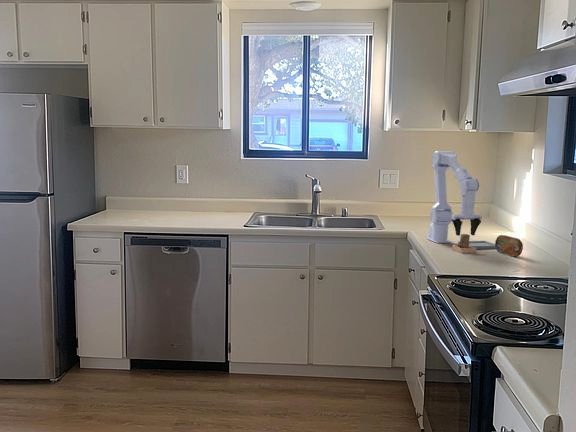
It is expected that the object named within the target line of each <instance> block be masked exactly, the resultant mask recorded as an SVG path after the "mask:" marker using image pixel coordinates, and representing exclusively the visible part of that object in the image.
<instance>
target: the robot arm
mask: <svg viewBox="0 0 576 432" xmlns="http://www.w3.org/2000/svg"><path fill="white" fill-rule="evenodd" d="M457 157H458V155H457V154H456V152H455V151H453V150H452V151H448V150H447V151H445V150H436V151H434V152H433V155H432V157H431V160H432V162H431V164H432V169H433V170H434V171H433V173H434V188H435V189H434V193H435V204H434V205H433V206H432V207H431V208H430V213H429V218H430V221H431V223H430V225H429V227H428V228H429V230H428V237H427V238H426V240H428V241H432V242H434V243H437V244H438V243H439V244H440V243H441V244H442V243H444V244H445V243H451V242H452V241H450V240H448V236H449V235H448V234H449V225H450V224H451V223H452V224H453V226H454V227H453V228H454V231H455V235H456V236H458V237H459V236H461V230H462V225H463V222H464V221H462V220H470V236H476V232H477V229H478V227H479V225H480V224H481V223H482V219H483V215H482V214H475V205H476V196H477V195H476V194H477V192H478V191H479V188H480V182H479V180H478V179H477V178H474V177H472V175H471V174H470V173H469V172H468V170H467V169H466V168H463V167H461V164H460V163H459V161H458V158H457ZM449 169H451V170H452V171H453V172H454V178H456V180H457V181H458V183H459V188H460V194H461V204H460V205H461V206H460V214H459V213H458V214H454V213H453V209H452V206H451V205H450V204H448V201H447V199H448V198H447V197H448V196H447V180H446V179H447V177H446V172H447V170H449Z"/></svg>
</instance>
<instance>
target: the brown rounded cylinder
mask: <svg viewBox="0 0 576 432" xmlns="http://www.w3.org/2000/svg"><path fill="white" fill-rule="evenodd" d="M470 237H471V234H466V233H460V237H459V241H460V248H469V241H470Z"/></svg>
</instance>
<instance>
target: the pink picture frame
mask: <svg viewBox="0 0 576 432" xmlns="http://www.w3.org/2000/svg"><path fill="white" fill-rule="evenodd" d="M451 250H452V251H455V252H458V253H459V254H470V253H471V254H472V253H473V254H475V253H476V252H477V249H476V248H474V247H471V246H469V248H460V245H458V244H452V245H451Z"/></svg>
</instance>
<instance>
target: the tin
mask: <svg viewBox="0 0 576 432" xmlns="http://www.w3.org/2000/svg"><path fill="white" fill-rule="evenodd" d="M494 241H495V242H494V244H495V247H496V249H495V250H496V251H497V252H498V253H499V254H502V255H505V256H509V257H519V256H520V255H522V253H523V249H524V244H523V242H522V240H521V239H520V238H518V237H514V236H509V235H503V234H500V235H498V236H497V237H496V239H495V240H494Z"/></svg>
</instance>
